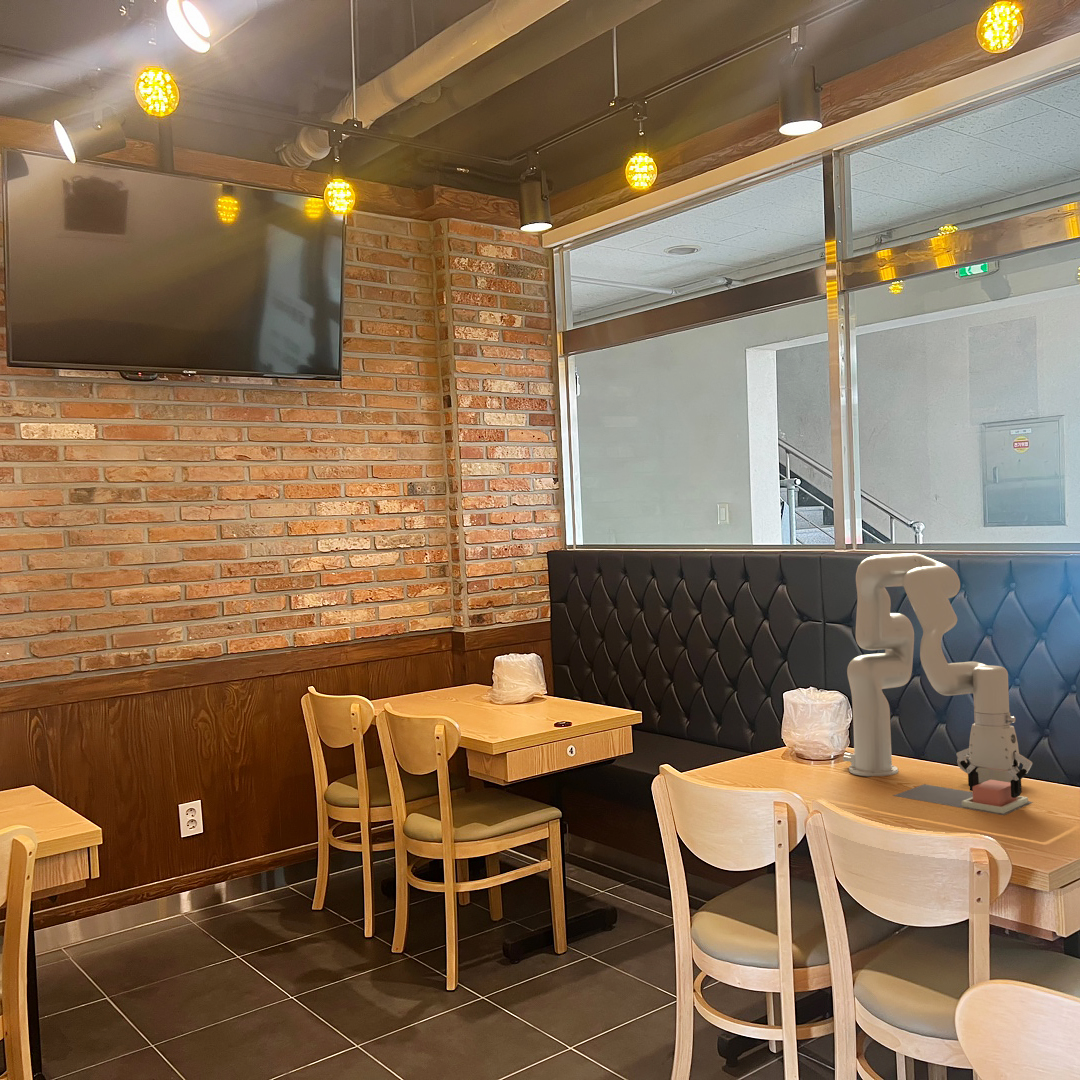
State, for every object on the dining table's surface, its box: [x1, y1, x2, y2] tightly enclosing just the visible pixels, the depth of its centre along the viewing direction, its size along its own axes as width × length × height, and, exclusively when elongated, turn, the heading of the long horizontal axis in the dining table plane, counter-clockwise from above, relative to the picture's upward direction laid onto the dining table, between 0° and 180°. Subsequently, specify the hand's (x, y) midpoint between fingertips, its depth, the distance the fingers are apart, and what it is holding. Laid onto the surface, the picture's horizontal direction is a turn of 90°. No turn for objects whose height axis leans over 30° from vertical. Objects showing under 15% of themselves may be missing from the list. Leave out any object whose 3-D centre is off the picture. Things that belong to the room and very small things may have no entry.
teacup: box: [956, 754, 1019, 784], centre depth 257 cm, size 14×11×8 cm
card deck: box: [972, 780, 1017, 807], centre depth 238 cm, size 9×6×4 cm, turn 131°
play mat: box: [892, 783, 1034, 816], centre depth 244 cm, size 27×15×1 cm, turn 41°
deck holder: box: [962, 795, 1029, 814], centre depth 238 cm, size 10×13×1 cm
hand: (994, 793), depth 238 cm, fingers open, 9 cm apart
